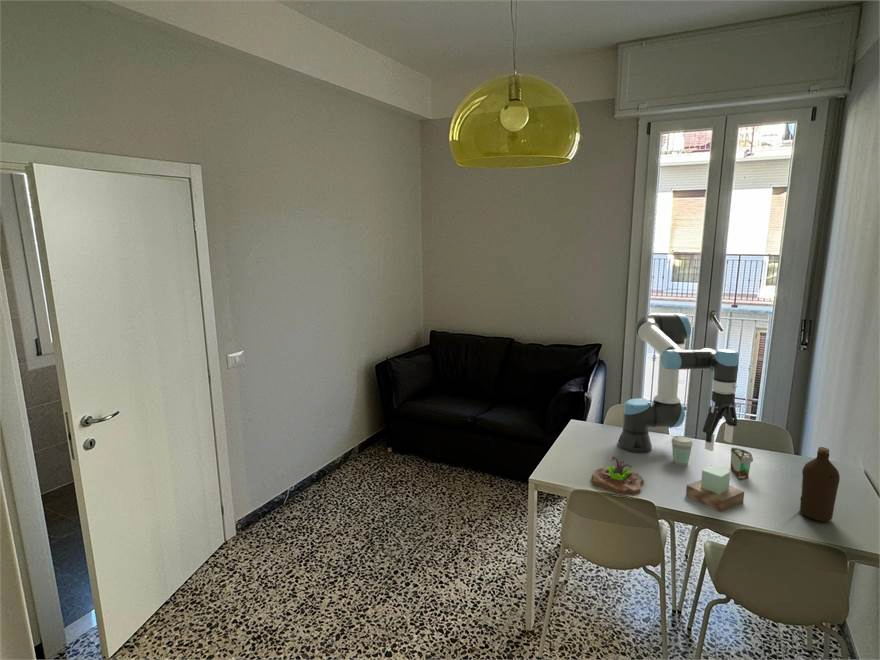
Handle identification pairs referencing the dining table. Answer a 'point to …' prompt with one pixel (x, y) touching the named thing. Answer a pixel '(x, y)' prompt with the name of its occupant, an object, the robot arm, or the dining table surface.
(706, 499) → the walnut block
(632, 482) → the plant
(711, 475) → the sage cube
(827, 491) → the brown bottle
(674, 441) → the coffee cup
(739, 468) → the food container
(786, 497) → the dining table surface
